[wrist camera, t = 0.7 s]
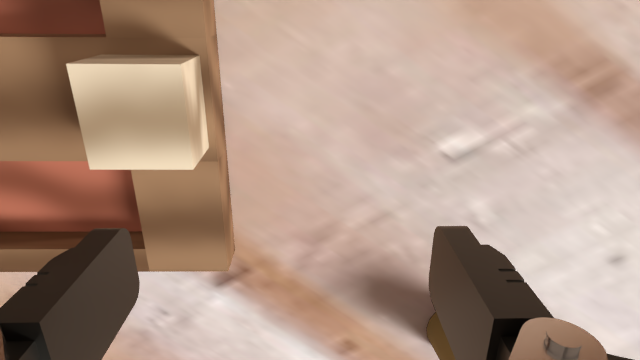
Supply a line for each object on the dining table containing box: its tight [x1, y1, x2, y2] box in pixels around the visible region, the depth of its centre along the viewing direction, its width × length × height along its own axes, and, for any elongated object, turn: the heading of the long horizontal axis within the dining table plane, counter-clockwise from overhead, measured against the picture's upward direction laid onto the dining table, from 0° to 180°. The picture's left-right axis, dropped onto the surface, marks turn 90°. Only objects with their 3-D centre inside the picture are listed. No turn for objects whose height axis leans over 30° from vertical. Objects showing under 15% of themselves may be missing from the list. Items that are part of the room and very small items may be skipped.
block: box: [66, 55, 209, 170], centre depth 25 cm, size 6×6×4 cm
